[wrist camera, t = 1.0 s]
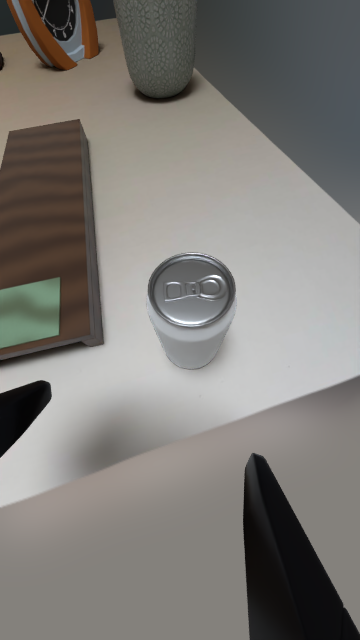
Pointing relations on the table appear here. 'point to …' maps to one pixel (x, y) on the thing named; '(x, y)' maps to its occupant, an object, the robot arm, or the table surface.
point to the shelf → (47, 242)
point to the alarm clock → (57, 29)
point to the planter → (158, 43)
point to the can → (191, 307)
